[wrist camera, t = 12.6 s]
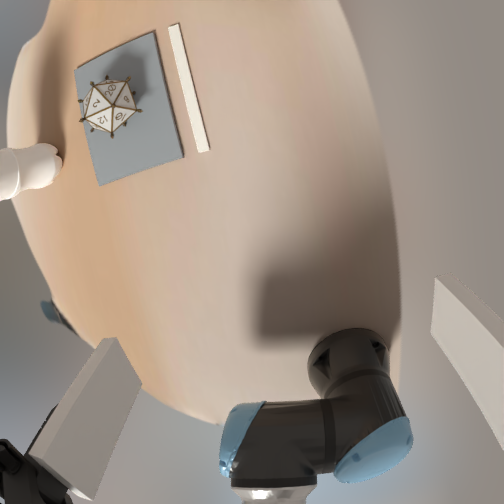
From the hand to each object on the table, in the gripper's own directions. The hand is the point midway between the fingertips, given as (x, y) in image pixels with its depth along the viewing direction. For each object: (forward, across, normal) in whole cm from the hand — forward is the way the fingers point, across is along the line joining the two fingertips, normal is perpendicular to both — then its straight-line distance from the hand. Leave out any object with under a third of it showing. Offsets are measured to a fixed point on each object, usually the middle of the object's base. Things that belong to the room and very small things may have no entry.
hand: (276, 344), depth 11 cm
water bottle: (+32, +33, -15) cm, 48 cm away
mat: (+32, +17, -18) cm, 40 cm away
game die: (+31, +17, -18) cm, 40 cm away
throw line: (+32, +7, -18) cm, 37 cm away
